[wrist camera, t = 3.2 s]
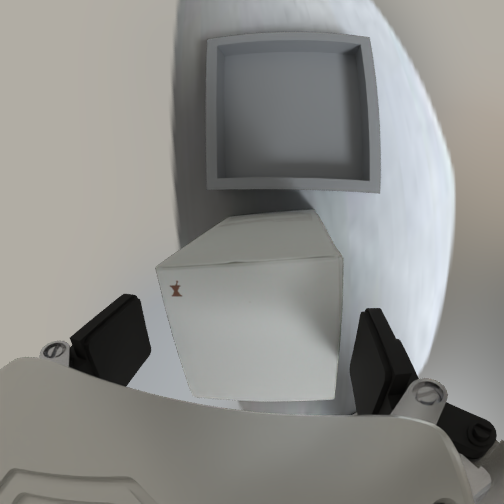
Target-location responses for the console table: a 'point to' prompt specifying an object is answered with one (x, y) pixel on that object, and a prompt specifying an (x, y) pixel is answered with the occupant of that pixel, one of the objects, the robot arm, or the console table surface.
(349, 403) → the console table surface
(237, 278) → the supplement box
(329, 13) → the console table surface
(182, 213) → the console table surface
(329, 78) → the holder tray
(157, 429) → the robot arm
